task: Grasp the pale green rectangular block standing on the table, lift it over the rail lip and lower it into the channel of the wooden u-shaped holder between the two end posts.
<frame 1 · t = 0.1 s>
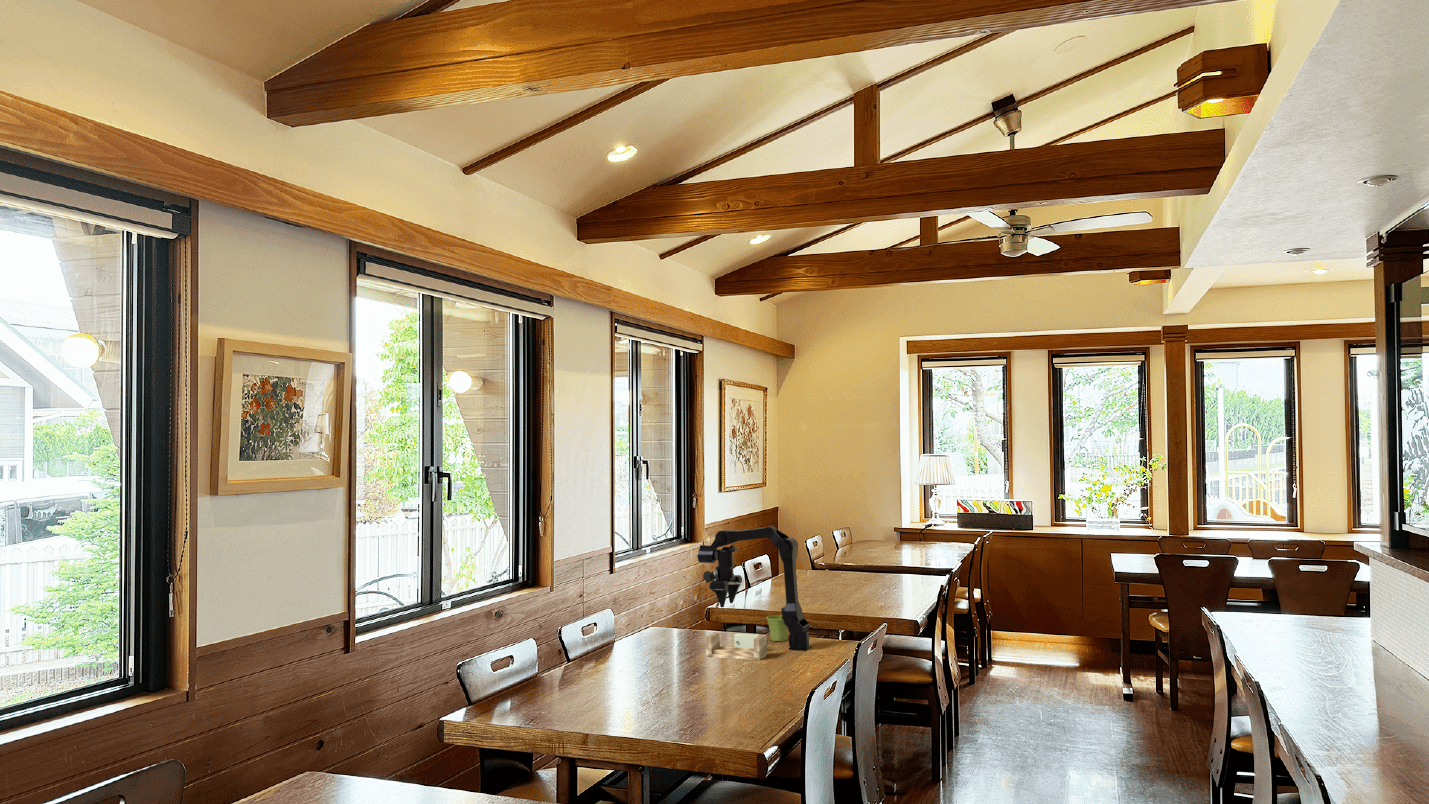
hand: (726, 605, 339), 15 cm above the table, fingers open, 9 cm apart
plant pot: (779, 640, 343), on the table
wooden u-shaped holder: (736, 655, 319), on the table
pale green rectangular block: (747, 651, 326), on the table
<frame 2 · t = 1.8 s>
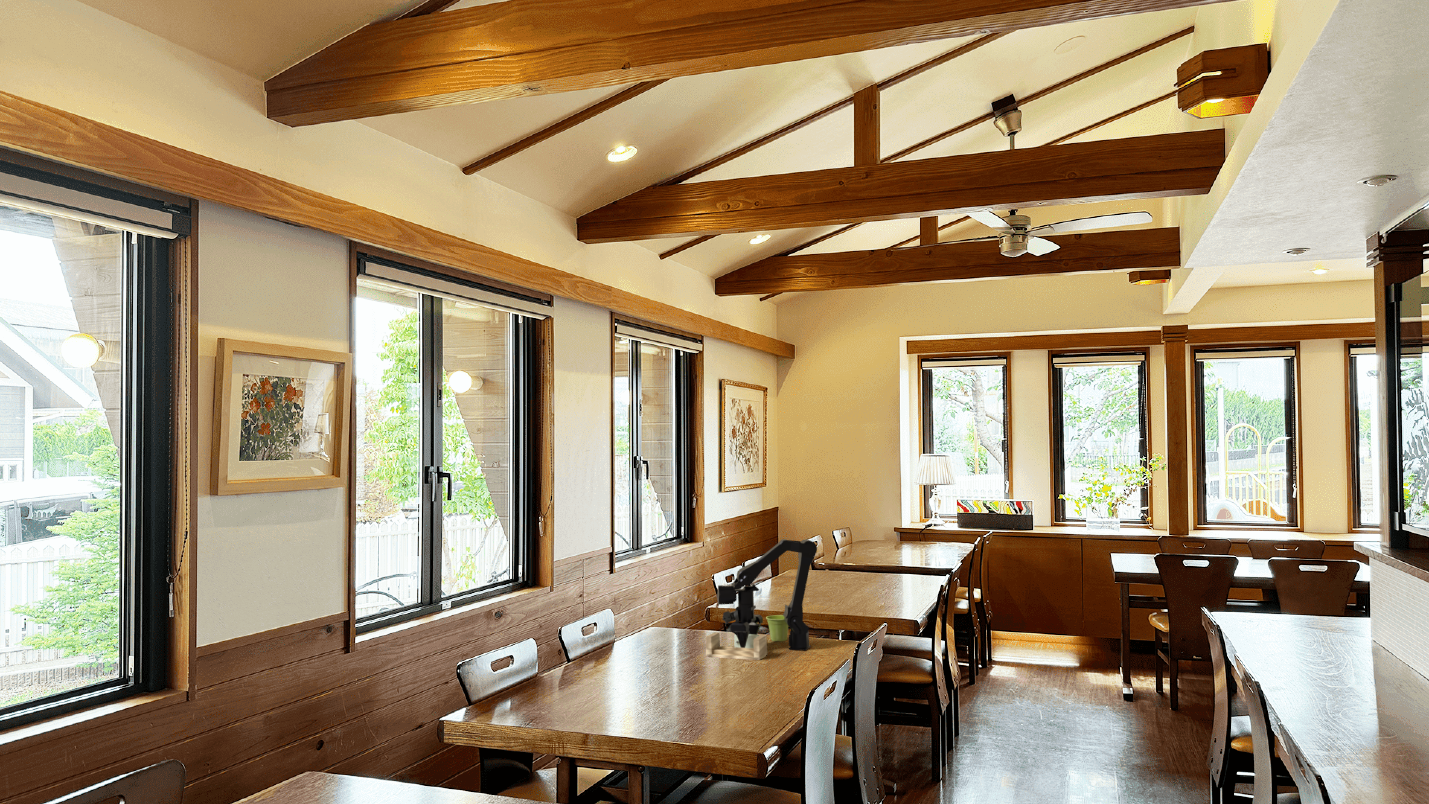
hand: (747, 647, 326), 1 cm above the table, fingers open, 8 cm apart
nothing on the table moved.
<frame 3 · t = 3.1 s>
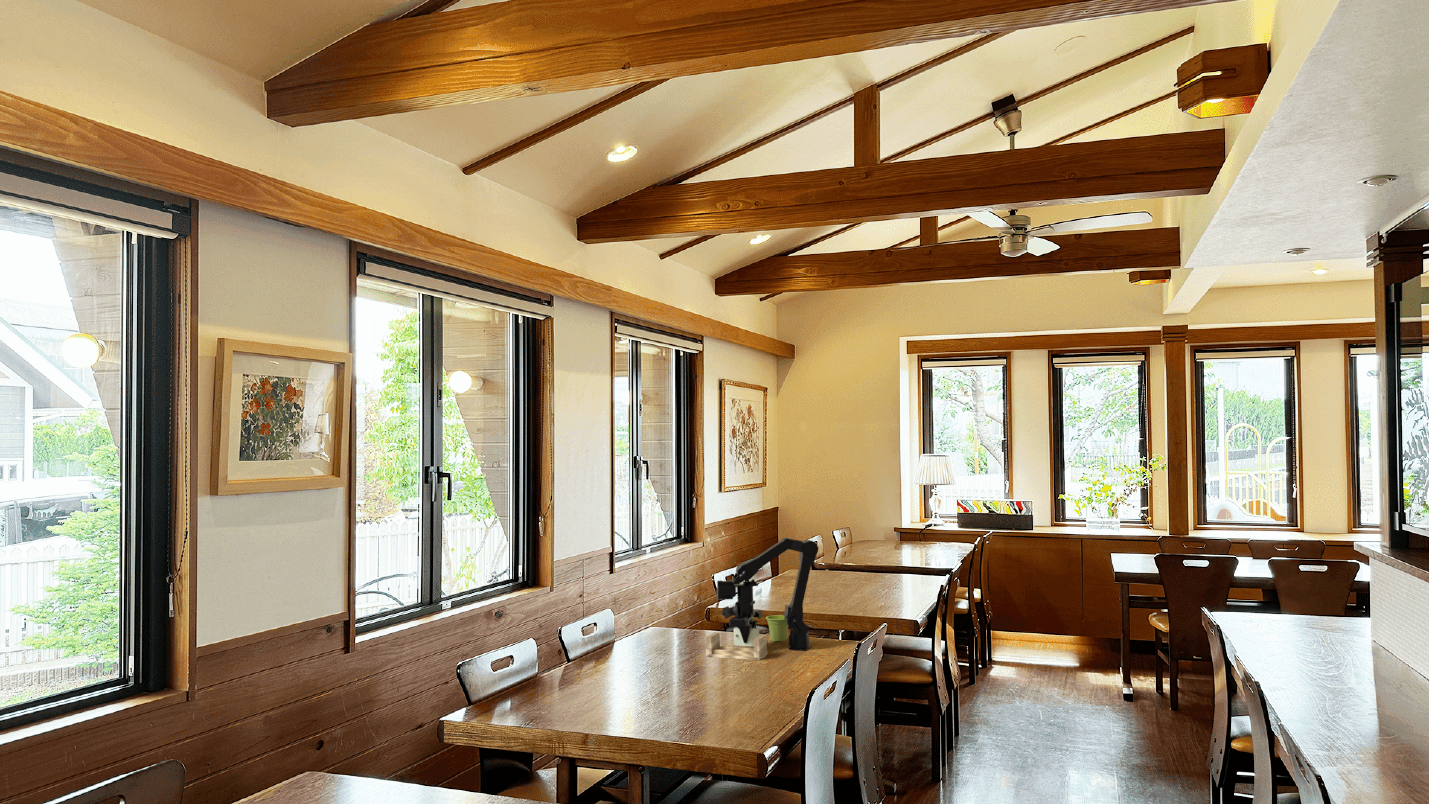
hand: (746, 642, 326), 3 cm above the table, fingers closed on pale green rectangular block, 2 cm apart
pale green rectangular block: (746, 645, 326), point 2 cm above the table, touching gripper
everything else where it was.
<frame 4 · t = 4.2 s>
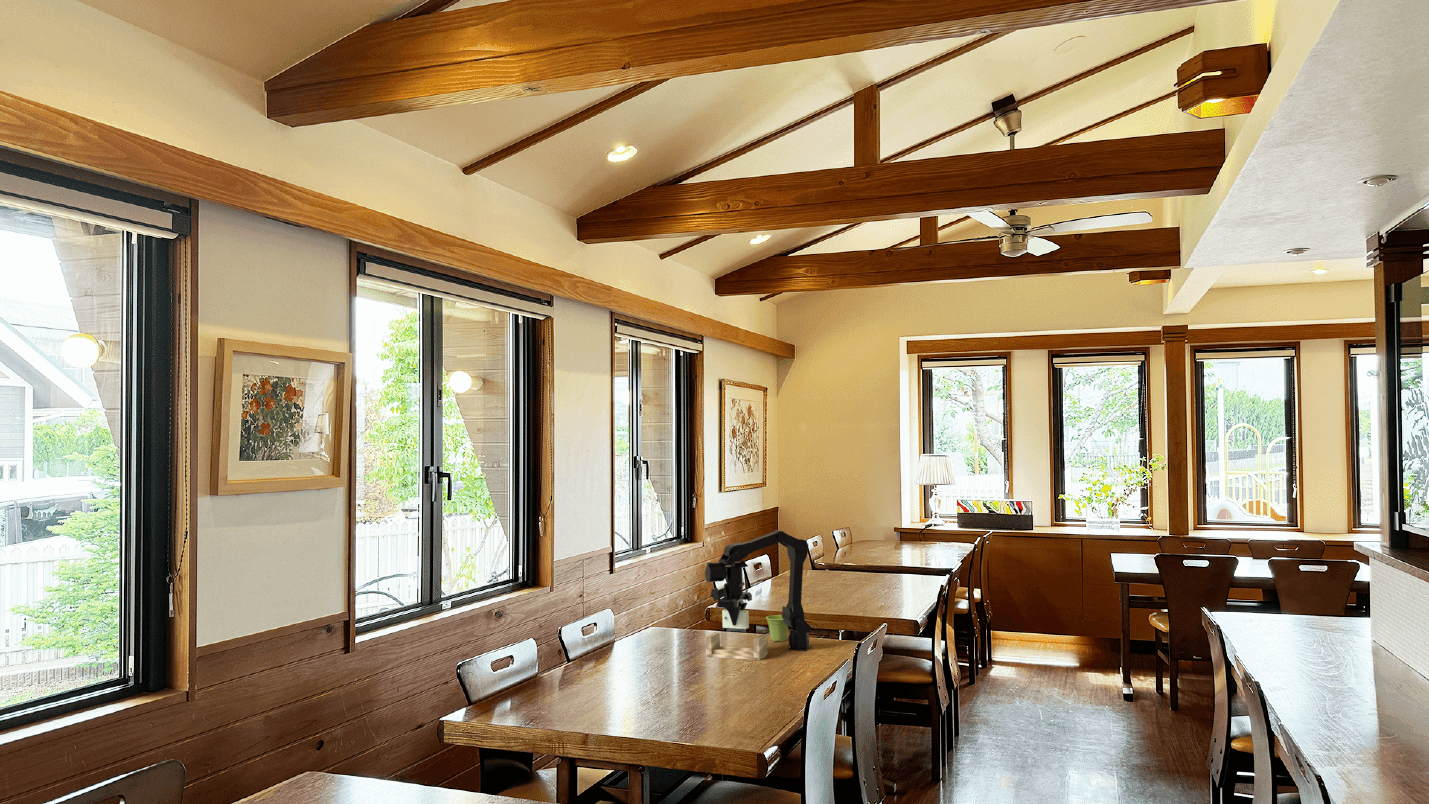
hand: (735, 624, 319), 11 cm above the table, fingers closed on pale green rectangular block, 2 cm apart
pale green rectangular block: (735, 627, 319), point 10 cm above the table, touching gripper
everything else where it was.
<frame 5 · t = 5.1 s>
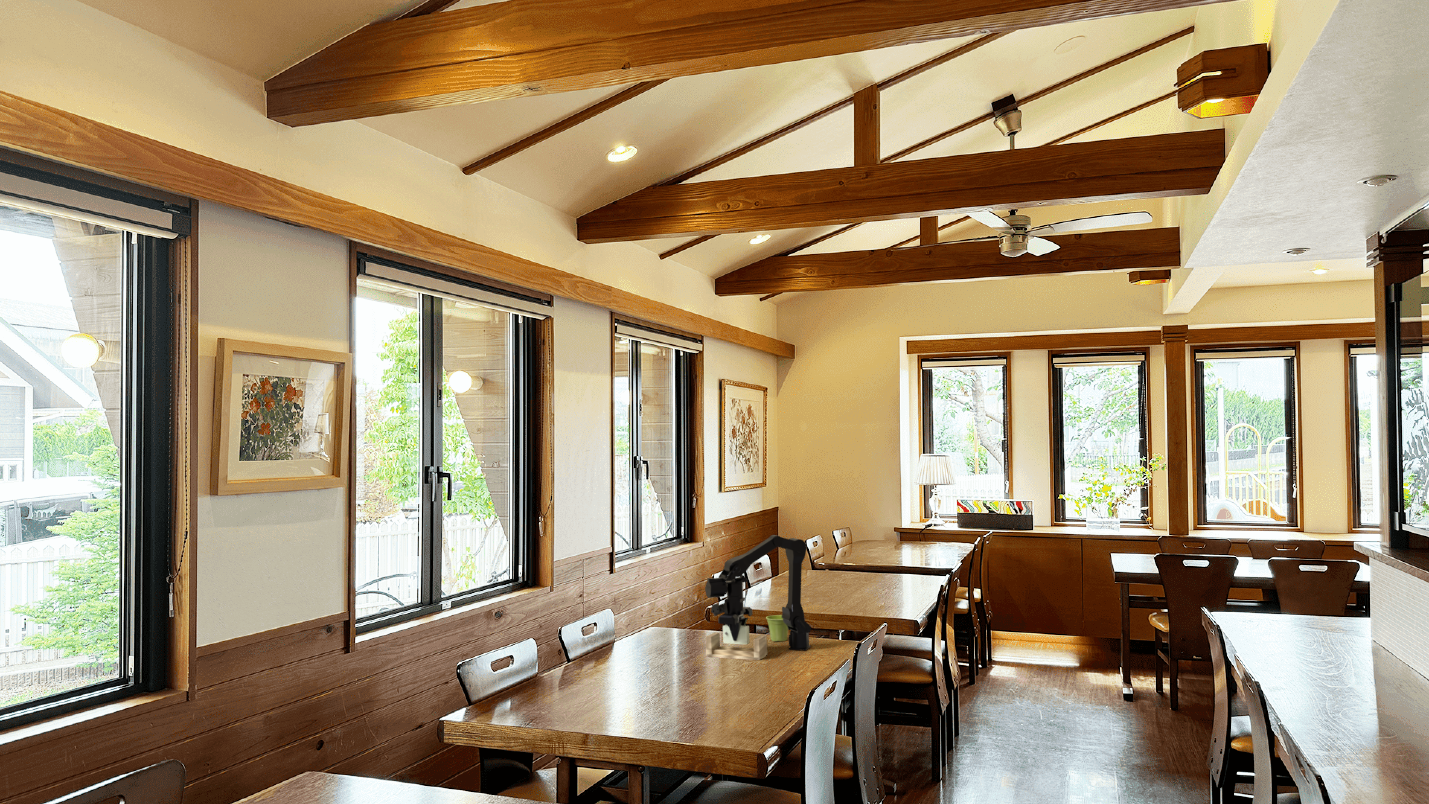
hand: (736, 639, 319), 6 cm above the table, fingers closed on pale green rectangular block, 2 cm apart
pale green rectangular block: (736, 643, 319), point 4 cm above the table, touching gripper
everything else where it was.
when the fingers open (3 cm above the table, at t = 5.8 s): pale green rectangular block stays where it is, resting on wooden u-shaped holder.
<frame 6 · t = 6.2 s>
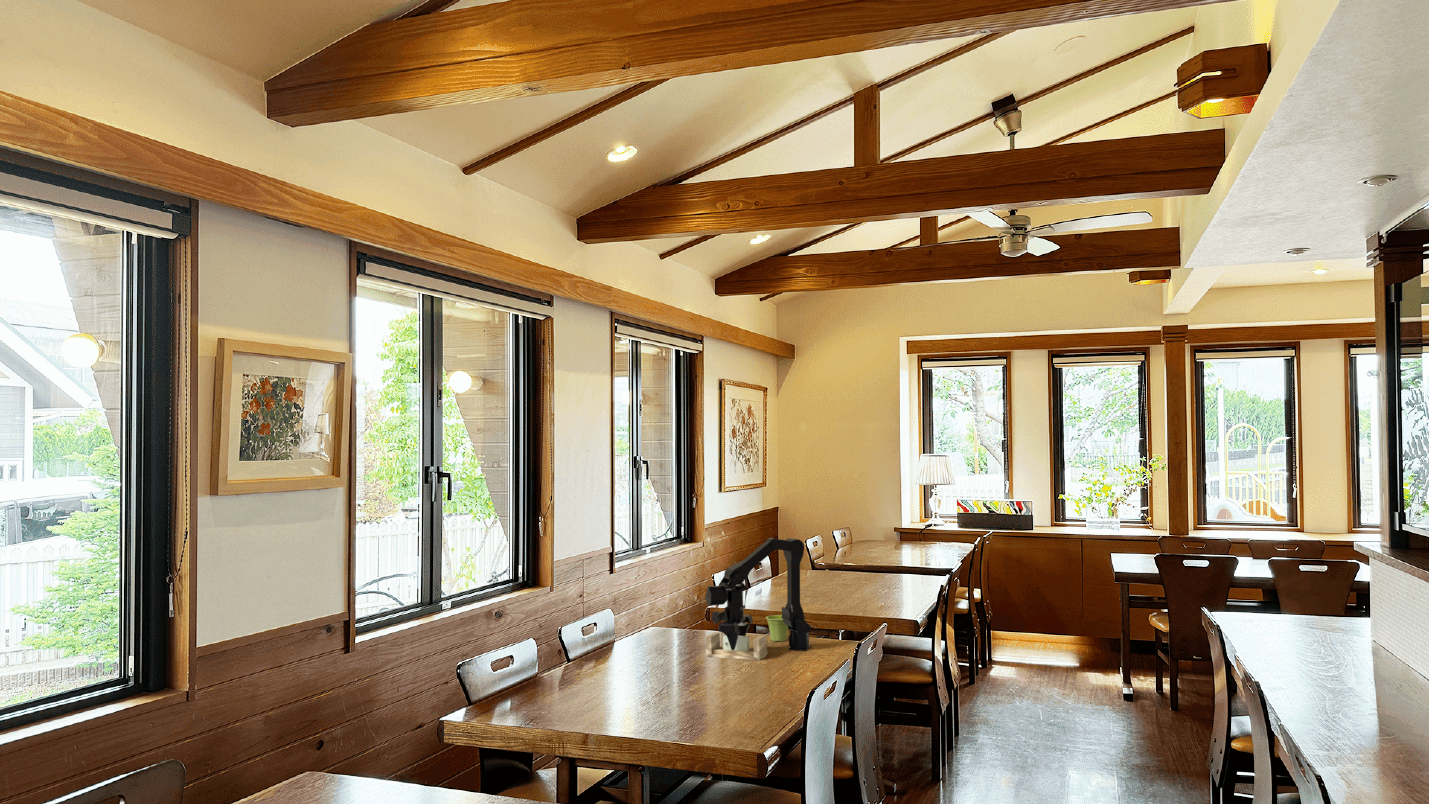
hand: (736, 647, 319), 3 cm above the table, fingers open, 7 cm apart
pale green rectangular block: (736, 653, 319), point 1 cm above the table, touching wooden u-shaped holder
everything else where it was.
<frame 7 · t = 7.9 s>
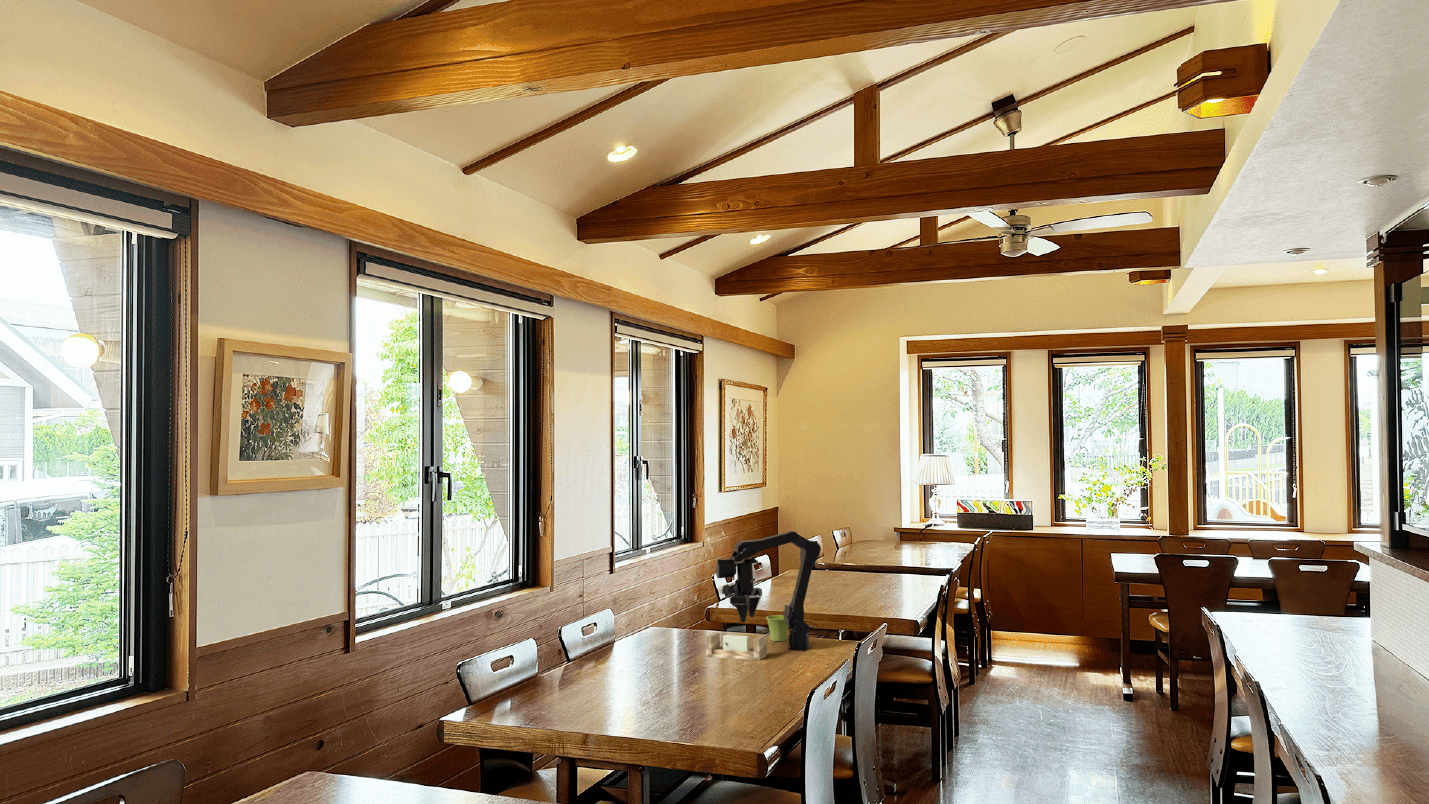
hand: (747, 619, 324), 12 cm above the table, fingers open, 9 cm apart
nothing on the table moved.
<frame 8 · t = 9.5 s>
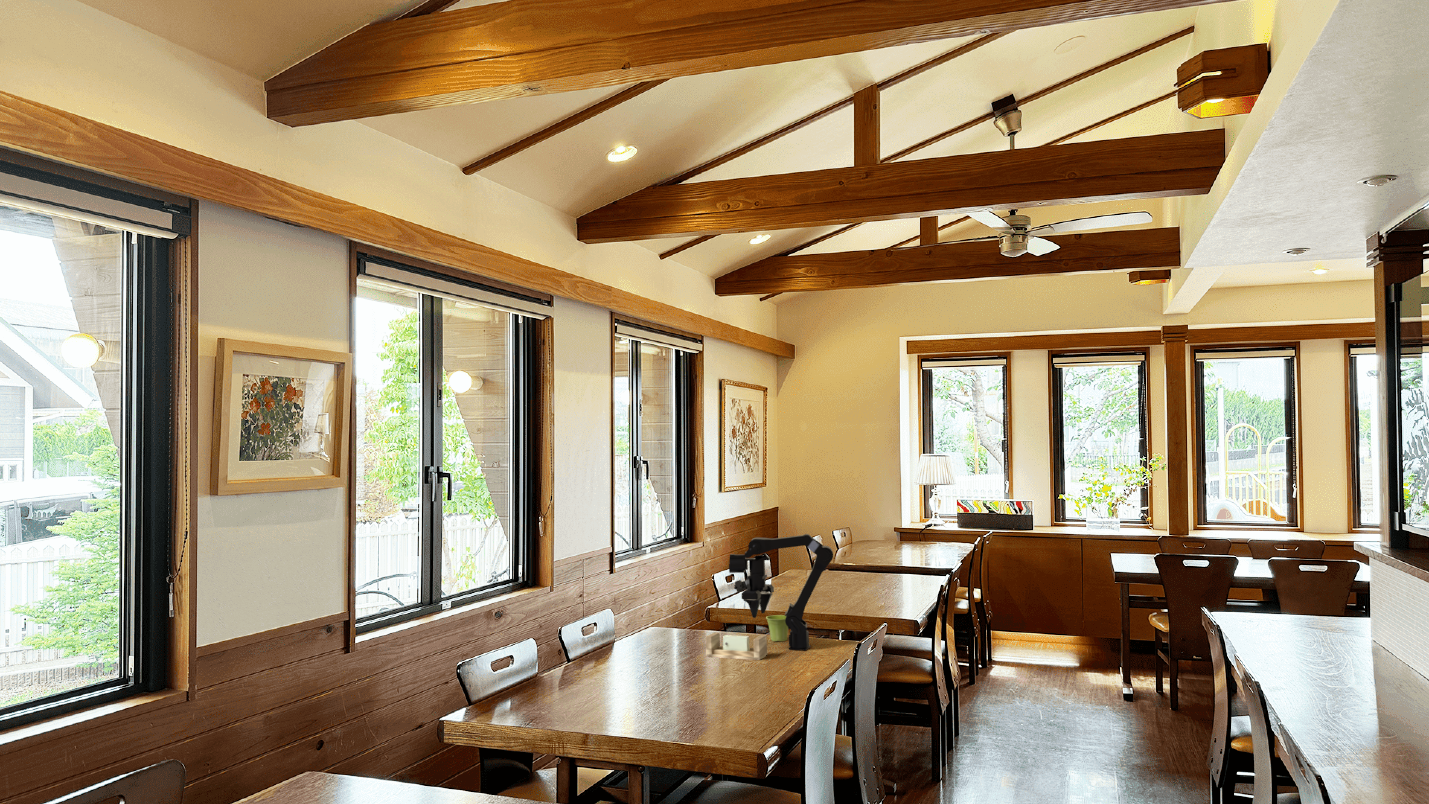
hand: (758, 615, 330), 12 cm above the table, fingers open, 9 cm apart
nothing on the table moved.
at the end: pale green rectangular block inside the target area on the wooden u-shaped holder (0.1 cm from its centre), point 0.8 cm above the wooden u-shaped holder's base; pale green rectangular block tilted 0°; the gripper is holding nothing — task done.
